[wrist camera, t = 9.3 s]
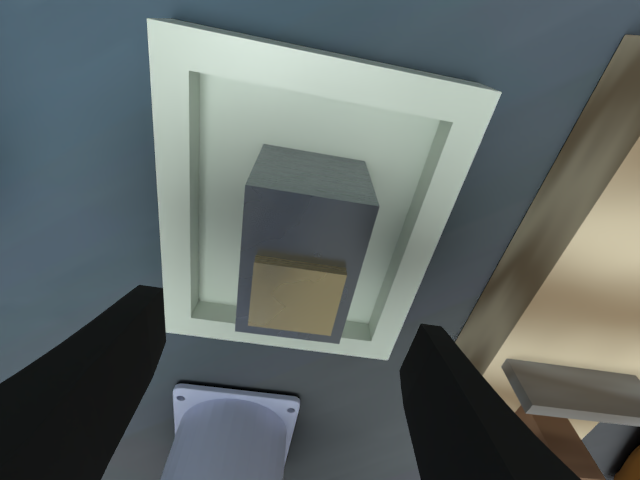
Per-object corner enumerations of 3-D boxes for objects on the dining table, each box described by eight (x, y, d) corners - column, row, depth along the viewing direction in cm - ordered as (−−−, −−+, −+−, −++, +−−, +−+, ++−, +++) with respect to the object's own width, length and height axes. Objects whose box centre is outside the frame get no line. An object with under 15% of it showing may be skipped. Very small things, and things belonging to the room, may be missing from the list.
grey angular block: (335, 279, 17) (339, 352, 13) (252, 268, 17) (232, 339, 13) (364, 161, 14) (381, 212, 10) (263, 143, 14) (242, 190, 10)
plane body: (544, 402, 24) (614, 522, 18) (429, 388, 23) (465, 509, 17) (818, 79, 13) (1187, 124, 8) (625, 34, 12) (877, 46, 7)
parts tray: (382, 331, 20) (387, 360, 18) (179, 304, 19) (165, 332, 17) (478, 82, 13) (501, 92, 12) (171, 18, 12) (146, 18, 10)
